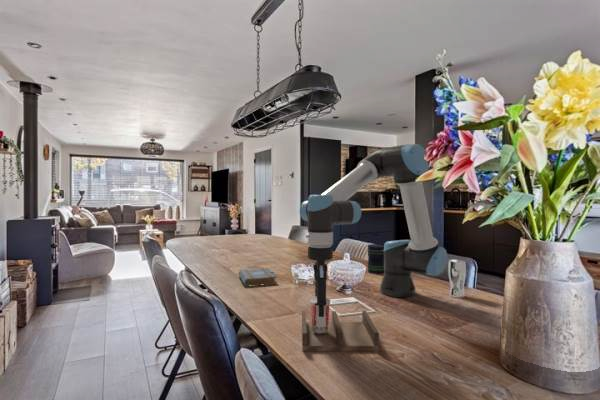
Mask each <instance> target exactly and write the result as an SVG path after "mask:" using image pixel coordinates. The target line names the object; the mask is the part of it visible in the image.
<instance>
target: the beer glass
mask: <svg viewBox="0 0 600 400" xmlns="http://www.w3.org/2000/svg"><path fill="white" fill-rule="evenodd" d="M466 264H467V263H466V260H464V259H459V258H458V259H456V258H455V259H453V258H452V259H448V267H447V270H448V271H447V274H448V275H447V276H448V279H449V281H448V282H449V293H448V295H449V296H450V297H452V298H460V299H462V298H465V296H466V295H465V294H466V293H465V287H464V286H465V282H466V278H467V277H466V276H467V265H466Z"/></svg>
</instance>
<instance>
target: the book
mask: <svg viewBox="0 0 600 400" xmlns="http://www.w3.org/2000/svg"><path fill="white" fill-rule="evenodd" d="M237 273H238V276H239V278H240V279H241V281H242V283H243V284H244V287H246V286H249V285H261V284H275V285H278V282H277V281H276V280H275V279H276V278H278V275H276V274H275V272H274V270H271V269H270V268H269V267H265V268H262V267H261V268H250V269H247V268H246V269H240V270H239V271H238V272H237Z"/></svg>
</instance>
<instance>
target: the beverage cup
mask: <svg viewBox="0 0 600 400" xmlns="http://www.w3.org/2000/svg"><path fill="white" fill-rule="evenodd" d="M330 300H331V299H329V298H327V297H326V302H327V304H326V327H316V305H314V303H317V298H315V297H313V298H311V299H309V301H310V307H311V309H310V310H311V322H312V326H313V331H314V332H315V333H326V332H327V331H328V322H329V317H330V309H329V306H331V305H330Z"/></svg>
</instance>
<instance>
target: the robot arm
mask: <svg viewBox="0 0 600 400" xmlns="http://www.w3.org/2000/svg"><path fill="white" fill-rule="evenodd" d="M425 150H426V149H425V148H424V147H423V146H421V144H418V143H417V144H416V143H415V144H413V143H412V144H411V143H410V144H409V143H408V144H400V145H395V146H389V147H388V146H387V147H382V148H379V149H378V150H376V151H374V152H372V153H370V154H369V155H367V156H366V157H364V158H363V159H362V160H360V161H359V162H358V164H357V165H356V167H355V168H354V169H353V170H351V171H350V172H349V173H348V174H346V175H344V177H342V178H341V179H340V180H338V181H337V182H336V183H334V184H333V185H331V186H330V187H329V188H328V189H326V190H325V191H324V192H322V193H321V194H310V195H308V199H307V200H304V201H303V202H302V203H301V204H300V207H299V215H300V217H301V219H302V220H303V221H306V222H307V233H308V234H305V238H306V239H307V245H309V246H308V247H307V259H308V260H311V261H315V262H314V264H313V276H314V282H315V284H314V287H315V289H314V292H315V293H314V296H315V297H314V298H317V303H314V305H316V327H326V304H327V302H326V298H327V280H328V279H327V272H328V266H327V264H325V263H326V261H331V260H333V258H334V255H333V254H334V253H333V251H334V248H333V245H334V226H337V225H352V224H353V225H354V224H356V223H357V222H359V221H360V219H361V217H362V208H361V205H360V204H359V203H358V202H356V201H354V200H349V199H350V198H352V196H354V195H355V194H356V193H357V192H359V191H360V190H361V189H362V188H364V187H365V186H366V185H367V184H369V183H373V182H375V181H376V180H378V179H380V178H384V177H385V178H386V177H392V178H393V182H394V184H395V185H397V186H398V187H399V190H400V191H399V192H400V194H401V195H400V196H401V200H402V204H403V208H404V209H403V210H404V213H405V218H406V219H405V220H406V223H407V227H408V232H409V237H410V239H399V240H398V239H397V240H390V241H389V240H387V241H386V242H385V243H384V244H383V245H384V274H383V276H382V279H381V283H380V285H379V292H380V293H381V294H382V295H386V296H389V297H395V298H408V297H409V298H410V297H414V296H415V295H416V286H415V283H414V280H413V276H412V273H417V274H422V275H426V276H433V277H436V276H439V275H441V274H442V273H443V271H444V270H445V268H446V265H447V261H448V252H447V249H445V247H442V246H440V244H439V241H438V239H437V238H436V237H434V234H433V229H432V224H431V220H430V214H429V208H428V204H427V200H426V194H425V190H424V189H425V188H424V184H423V181H422V182H415V179H416V178H417V177H419V176H420V175H421V174H423V173H424V172H426V171H428V172H429V168H430V165H428V163H427V162H426V161H425V160H424V155H425Z"/></svg>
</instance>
